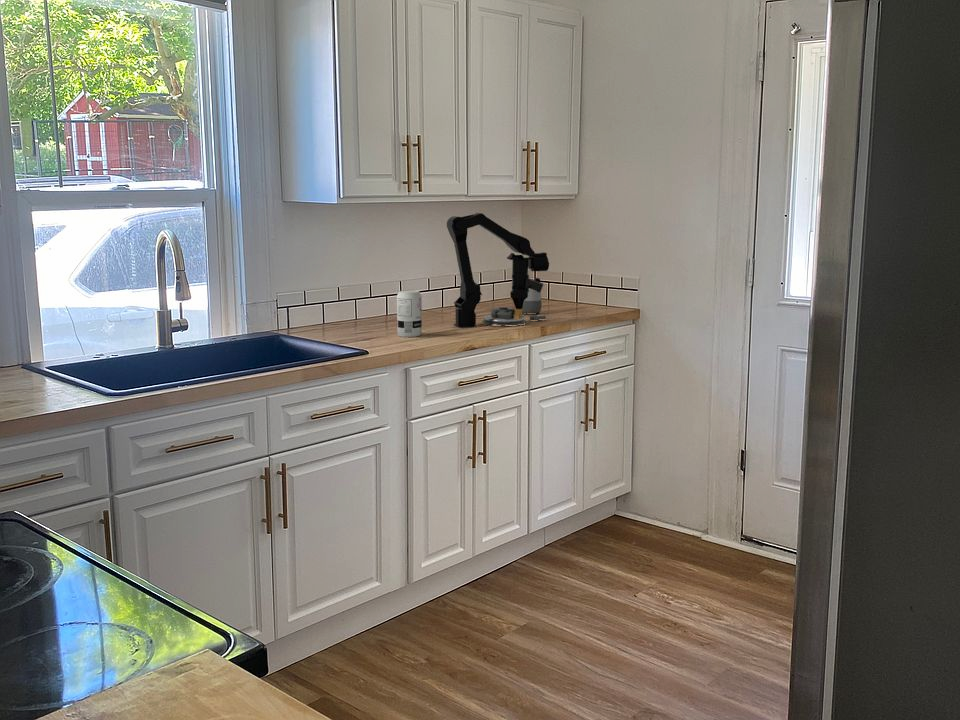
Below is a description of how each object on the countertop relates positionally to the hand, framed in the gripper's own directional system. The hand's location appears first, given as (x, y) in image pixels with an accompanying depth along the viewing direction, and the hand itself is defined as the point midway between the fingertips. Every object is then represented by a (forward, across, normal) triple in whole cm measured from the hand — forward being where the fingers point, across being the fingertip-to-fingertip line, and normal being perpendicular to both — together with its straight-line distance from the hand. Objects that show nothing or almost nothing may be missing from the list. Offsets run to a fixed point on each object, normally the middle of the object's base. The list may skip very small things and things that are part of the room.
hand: (519, 314), depth 350 cm
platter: (+2, 0, +6) cm, 6 cm away
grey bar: (+4, +9, -7) cm, 12 cm away
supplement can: (+4, -31, +36) cm, 48 cm away
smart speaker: (+4, +29, -3) cm, 29 cm away
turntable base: (+4, 0, +6) cm, 7 cm away
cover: (+1, 0, +6) cm, 6 cm away
